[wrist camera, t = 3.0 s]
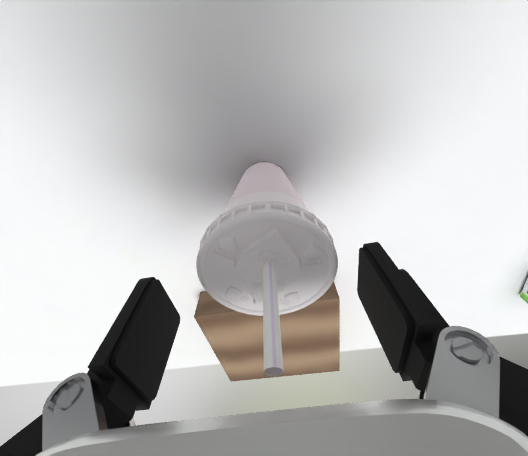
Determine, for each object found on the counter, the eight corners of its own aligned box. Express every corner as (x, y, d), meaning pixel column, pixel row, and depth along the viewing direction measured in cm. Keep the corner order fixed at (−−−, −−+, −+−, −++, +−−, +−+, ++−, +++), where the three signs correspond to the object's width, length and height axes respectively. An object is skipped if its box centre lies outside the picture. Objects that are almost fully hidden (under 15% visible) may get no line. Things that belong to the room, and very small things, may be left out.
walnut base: (200, 292, 25) (194, 316, 23) (331, 274, 24) (339, 298, 22) (233, 357, 33) (230, 381, 31) (333, 347, 32) (339, 370, 29)
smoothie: (314, 149, 17) (429, 322, 5) (296, 223, 21) (341, 423, 9) (224, 137, 16) (139, 302, 5) (222, 215, 20) (169, 418, 8)
